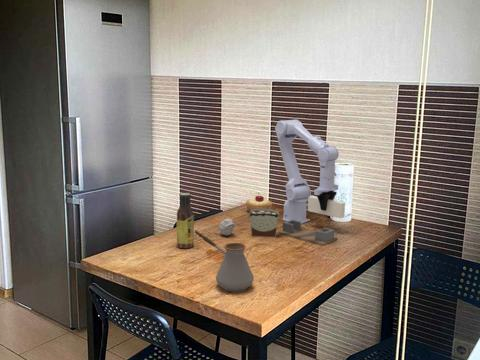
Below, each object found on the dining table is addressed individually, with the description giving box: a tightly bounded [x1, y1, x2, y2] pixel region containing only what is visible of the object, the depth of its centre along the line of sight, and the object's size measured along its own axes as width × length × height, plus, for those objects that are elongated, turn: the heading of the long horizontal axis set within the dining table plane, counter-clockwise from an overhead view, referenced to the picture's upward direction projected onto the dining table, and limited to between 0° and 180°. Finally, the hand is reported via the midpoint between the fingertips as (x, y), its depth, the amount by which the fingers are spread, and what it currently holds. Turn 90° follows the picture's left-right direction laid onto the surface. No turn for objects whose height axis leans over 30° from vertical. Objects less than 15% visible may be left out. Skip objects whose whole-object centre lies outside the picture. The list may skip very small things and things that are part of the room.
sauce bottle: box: [176, 192, 195, 249], centre depth 195 cm, size 6×6×20 cm
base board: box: [278, 228, 338, 246], centre depth 209 cm, size 21×10×1 cm, turn 48°
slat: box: [307, 195, 346, 219], centre depth 216 cm, size 16×2×6 cm, turn 48°
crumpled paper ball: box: [218, 218, 236, 236], centre depth 209 cm, size 6×7×7 cm
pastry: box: [245, 192, 273, 213], centre depth 244 cm, size 12×12×9 cm
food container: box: [247, 208, 281, 239], centre depth 210 cm, size 12×6×10 cm, turn 84°
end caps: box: [282, 220, 335, 242], centre depth 209 cm, size 20×6×4 cm, turn 48°
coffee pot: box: [192, 230, 255, 293], centre depth 162 cm, size 21×12×15 cm, turn 56°
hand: (325, 209), depth 216 cm, fingers closed on slat, 2 cm apart
